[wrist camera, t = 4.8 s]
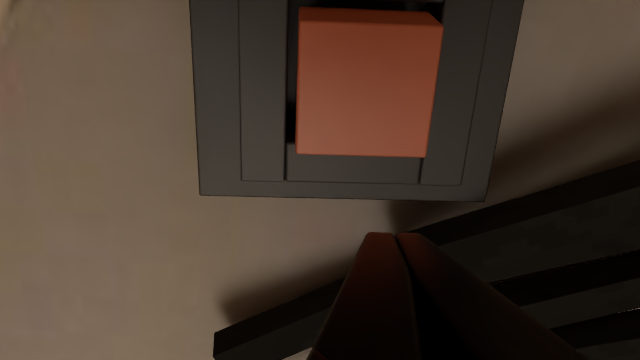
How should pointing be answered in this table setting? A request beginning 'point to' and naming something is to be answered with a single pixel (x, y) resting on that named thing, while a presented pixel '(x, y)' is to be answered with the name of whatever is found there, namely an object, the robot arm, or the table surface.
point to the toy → (512, 270)
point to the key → (365, 81)
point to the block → (280, 104)
